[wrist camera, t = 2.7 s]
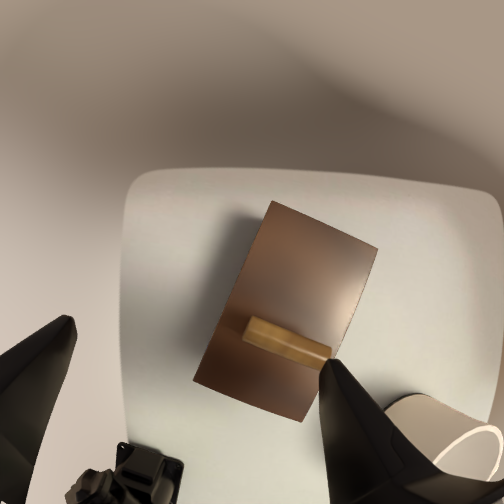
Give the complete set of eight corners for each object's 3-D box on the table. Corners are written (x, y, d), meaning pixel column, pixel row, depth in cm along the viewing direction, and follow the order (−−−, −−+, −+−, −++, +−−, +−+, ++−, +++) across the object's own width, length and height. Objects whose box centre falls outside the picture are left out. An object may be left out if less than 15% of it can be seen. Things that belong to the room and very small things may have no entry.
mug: (348, 463, 23) (386, 527, 13) (385, 381, 24) (448, 423, 14) (431, 466, 23) (480, 511, 13) (465, 395, 24) (529, 424, 13)
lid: (300, 418, 19) (312, 450, 14) (194, 377, 19) (179, 402, 14) (374, 250, 20) (405, 240, 15) (271, 203, 20) (277, 179, 15)
